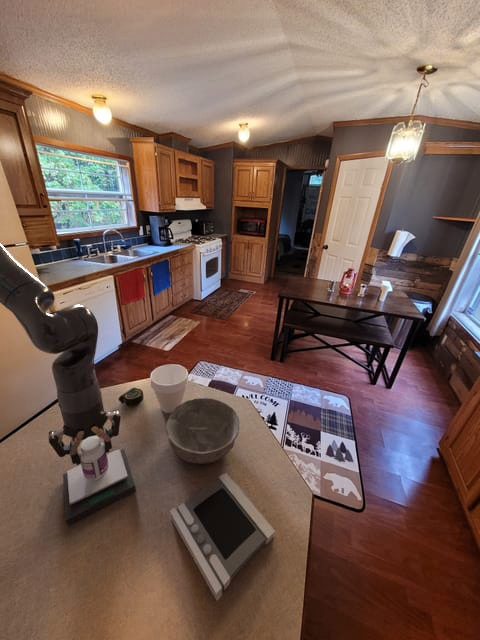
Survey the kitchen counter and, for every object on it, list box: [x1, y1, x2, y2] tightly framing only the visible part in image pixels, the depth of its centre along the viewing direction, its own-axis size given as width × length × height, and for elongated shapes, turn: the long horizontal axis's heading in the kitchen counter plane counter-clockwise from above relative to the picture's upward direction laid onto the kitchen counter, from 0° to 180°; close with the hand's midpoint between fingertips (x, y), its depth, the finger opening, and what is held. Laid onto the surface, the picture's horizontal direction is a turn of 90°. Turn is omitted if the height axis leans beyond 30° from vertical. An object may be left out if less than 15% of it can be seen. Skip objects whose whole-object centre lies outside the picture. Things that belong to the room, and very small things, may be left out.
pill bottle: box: [79, 435, 109, 481], centre depth 60 cm, size 5×5×10 cm
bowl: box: [165, 397, 240, 464], centre depth 73 cm, size 21×21×10 cm
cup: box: [149, 363, 189, 414], centre depth 87 cm, size 12×12×14 cm
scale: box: [62, 448, 137, 528], centre depth 62 cm, size 14×12×4 cm
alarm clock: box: [169, 472, 276, 602], centre depth 56 cm, size 17×5×16 cm
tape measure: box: [117, 387, 145, 407], centre depth 90 cm, size 7×7×4 cm
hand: (93, 455), depth 60 cm, fingers closed on pill bottle, 5 cm apart
